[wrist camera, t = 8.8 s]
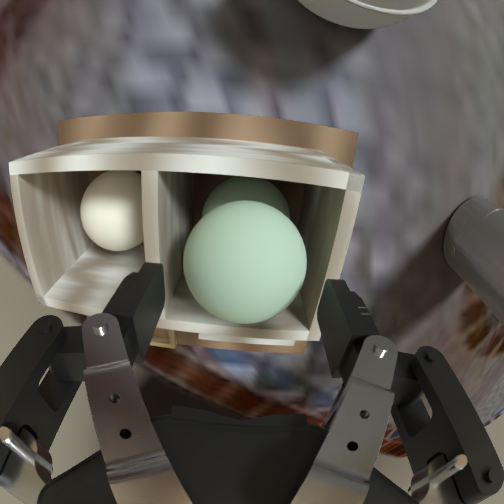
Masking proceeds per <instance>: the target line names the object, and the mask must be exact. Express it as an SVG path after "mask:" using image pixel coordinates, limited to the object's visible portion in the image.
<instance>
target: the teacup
mask: <svg viewBox="0 0 504 504" xmlns="http://www.w3.org/2000/svg"><path fill="white" fill-rule="evenodd" d="M298 1H299V2H300V3H301V4H302V5H303V6H305V7H306V8H307V9H309V10H310V11H311V12H313V13H315V14H316V15H318V16H320V17H322V18H324V19H326V20H328V21H330V22H333V23H336V24H339V25H342V26H346V27H351V28H358V29H375V28H381V27H386V26H389V25H392V24H395V23H397V22H399V21H402V20H404V19H406V18H408V17H410V16H412V15H416V14H420V13H422V12H424V11H426V10H428V9H429V8H431V7H432V6H433V5H434V4H435V3H436V2H437V0H298Z"/></svg>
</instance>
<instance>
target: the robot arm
mask: <svg viewBox="0 0 504 504" xmlns="http://www.w3.org/2000/svg"><path fill="white" fill-rule="evenodd" d="M443 250H444V256H445V260H446V262H447V263H448V265H449V266H450V267H451V268H452V269H453V270H454V271H455V272H456V273H457V274H458V275H459V276H460V277H461V278H462V279H463V280H464V281H465V282H466V284H467V285H468V286H469V287H470V288H471V289H472V290H473V291H474V292H475V293H476V295H477V296H478V297H479V298H480V299H481V300H482V301H483V302H484V303H485V305H486V306H487V307H488V308H489V309H490V310H491V312H492V313H493V314H494V315H495V316H496V318H497V319H498V320H499V321H500V322H501V324H502V325H503V326H504V208H502V207H500V206H499V205H497V204H495V203H493V202H492V201H490V200H488V199H486V198H484V197H473V198H470V199H468V200H467V201H465V202H464V203H463V204H462V205H461V206H460V207H459V208H458V209H457V210H456V212H455V213H454V214H453V216H452V218H451V220H450V222H449V224H448V227H447V229H446V233H445V237H444V244H443ZM164 304H165V283H164V269H163V264H161V263H152V262H145V263H144V264H143V266H142V267H141V269H140V270H139V272H138V273H137V272H132V273H131V274H129V275H128V276H126V277H125V278H124V279H123V280H122V282H121V283H120V285H119V287H118V288H117V290H116V291H115V293H114V294H113V296H112V297H111V299H110V301H109V302H108V304H107V305H106V307H105V309H104V310H103V312H102V313H98V314H94V315H92V316H90V317H88V318H87V319H86V320H85V321H84V322H83V324H82V326H71V327H64V326H63V324H62V321H61V319H60V318H58V317H57V316H53V315H47V316H43V317H41V318H39V319H38V320H36V321H35V322H34V323H33V324H32V325H31V327H30V328H29V329H28V330H27V332H26V333H25V334H24V335H23V337H22V338H21V339H20V341H19V342H18V343H17V344H16V346H15V347H14V348H13V350H12V351H11V353H10V354H9V355H8V357H7V358H6V359H5V361H4V362H3V364H2V365H1V366H0V487H1V488H3V489H5V490H7V491H8V492H9V493H10V494H12V495H13V496H15V497H16V498H17V499H19V500H20V501H22V502H23V503H24V504H477V503H479V502H481V501H483V500H485V499H486V498H488V497H490V496H492V495H493V494H495V493H497V492H498V491H499V490H500V488H501V487H502V484H503V481H504V470H503V467H502V465H501V463H500V460H499V458H498V455H497V453H496V451H495V449H494V447H493V444H492V442H491V440H490V438H489V436H488V434H487V432H486V430H485V428H484V426H483V424H482V422H481V420H480V418H479V416H478V414H477V412H476V410H475V408H474V407H473V405H472V403H471V401H470V399H469V398H468V396H467V394H466V392H465V390H464V389H463V387H462V385H461V384H460V382H459V380H458V379H457V377H456V375H455V374H454V372H453V370H452V369H451V367H450V365H449V364H448V362H447V361H446V359H445V357H444V356H443V355H442V353H441V352H440V351H438V350H437V349H435V348H433V347H430V346H422V347H420V348H419V349H418V350H417V352H416V354H415V355H413V354H408V353H403V352H399V351H398V349H397V347H396V345H395V344H394V343H393V342H392V341H391V340H390V339H388V338H386V337H384V336H380V334H379V332H378V330H377V328H376V326H375V324H374V322H373V320H372V318H371V316H370V315H369V312H368V310H367V308H366V306H365V304H364V302H363V300H362V298H361V297H359V296H358V295H357V294H356V293H355V292H352V291H350V290H349V288H348V286H347V284H346V282H345V280H340V279H327V280H326V281H325V284H324V288H323V291H322V295H321V298H320V302H319V305H318V309H317V321H318V325H319V328H320V332H321V336H322V340H323V343H324V347H325V351H326V355H327V359H328V362H329V366H330V370H331V374H332V378H339V377H342V379H343V383H342V385H341V387H340V389H339V391H338V394H337V396H336V398H335V400H334V402H333V404H332V407H331V409H330V411H329V413H328V415H327V417H326V419H325V421H324V423H323V424H322V426H321V427H320V426H318V425H314V424H311V423H307V418H306V414H273V415H268V416H263V417H257V418H252V419H246V420H236V419H232V418H229V417H226V416H223V415H219V414H216V413H213V412H210V411H207V410H201V409H193V408H186V407H179V406H172V411H171V414H166V415H160V416H156V417H152V418H150V417H149V415H148V412H147V410H146V407H145V404H144V402H143V399H142V397H141V394H140V391H139V388H138V385H137V383H136V380H135V377H134V374H133V371H132V365H133V363H134V361H135V362H141V363H143V362H144V359H145V356H146V353H147V351H148V348H149V345H150V342H151V340H152V337H153V334H154V332H155V329H156V326H157V324H158V321H159V318H160V316H161V313H162V311H163V308H164ZM47 368H49V371H48V372H47V374H46V376H45V377H44V379H43V381H42V382H41V384H40V386H39V387H38V385H39V382H40V379H41V378H42V376H43V375H44V373H45V371H46V369H47ZM82 381H85V385H86V390H87V396H88V401H89V405H90V410H91V415H92V419H93V422H94V427H95V431H96V434H97V438H98V441H99V445H100V450H99V451H97V452H96V453H94V454H93V455H91V456H90V457H88V458H86V459H85V460H83V461H82V462H80V463H79V464H77V465H76V466H74V467H72V468H71V469H69V470H67V471H66V472H64V473H62V474H61V475H59V476H57V477H56V478H54V479H51V475H52V473H53V467H52V457H51V455H50V453H49V449H50V447H51V445H52V442H53V440H54V438H55V436H56V433H57V431H58V429H59V427H60V425H61V422H62V421H63V418H64V416H65V414H66V412H67V410H68V408H69V406H70V404H71V402H72V400H73V398H74V396H75V394H76V392H77V390H78V388H79V386H80V384H81V383H82ZM424 394H425V396H426V398H427V400H428V402H429V404H430V406H431V408H432V412H433V415H432V419H430V416H429V414H428V412H427V410H426V408H425V406H424V404H423V402H422V400H421V398H422V397H423V396H424ZM390 412H391V414H392V417H393V419H394V422H395V424H396V427H397V429H398V432H399V435H400V437H401V440H402V443H403V446H404V448H405V451H406V454H407V457H408V459H409V462H410V465H411V468H412V471H413V474H414V476H413V478H412V480H411V486H410V487H409V489H408V493H406V492H405V491H404V490H402V489H401V488H400V487H398V486H397V485H396V484H394V483H393V482H392V481H391V480H389V479H388V478H387V477H385V476H384V475H383V474H382V473H380V472H379V471H378V470H377V469H375V468H374V464H375V461H376V459H377V456H378V453H379V450H380V447H381V443H382V440H383V437H384V434H385V430H386V427H387V423H388V420H389V416H390Z"/></svg>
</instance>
